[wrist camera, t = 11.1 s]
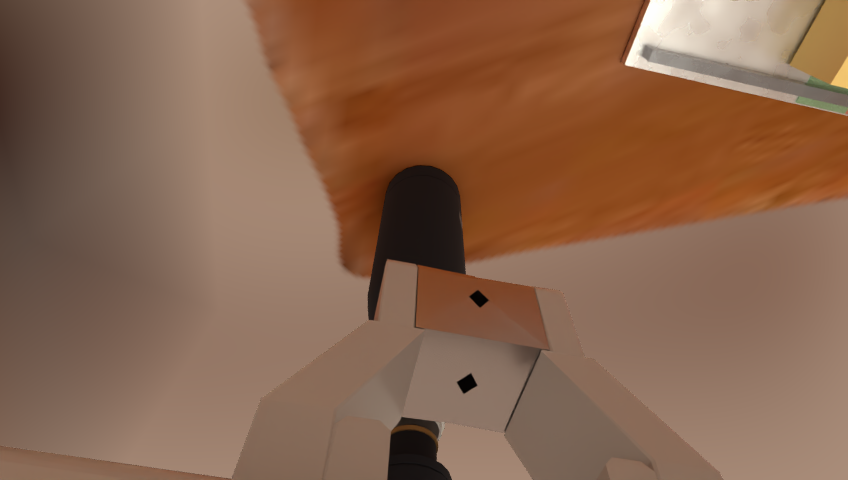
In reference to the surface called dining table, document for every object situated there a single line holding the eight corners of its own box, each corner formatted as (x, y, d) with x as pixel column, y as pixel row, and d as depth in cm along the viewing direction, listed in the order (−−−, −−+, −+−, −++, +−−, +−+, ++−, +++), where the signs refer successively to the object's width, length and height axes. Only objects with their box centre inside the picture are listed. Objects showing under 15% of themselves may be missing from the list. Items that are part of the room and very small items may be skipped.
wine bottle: (370, 196, 47) (289, 549, 21) (425, 150, 44) (408, 485, 19) (420, 243, 49) (401, 610, 24) (475, 202, 47) (519, 560, 21)
